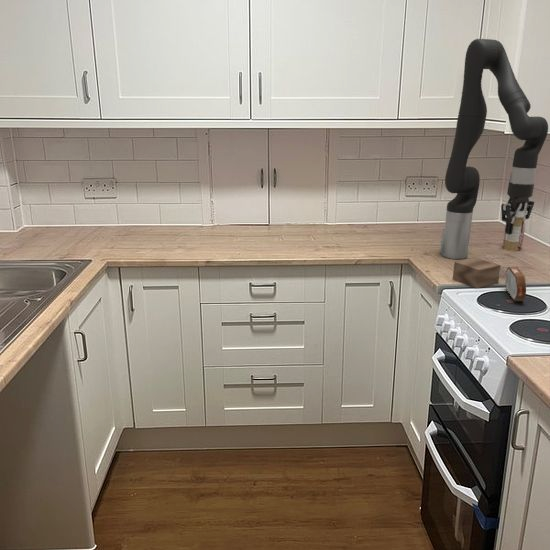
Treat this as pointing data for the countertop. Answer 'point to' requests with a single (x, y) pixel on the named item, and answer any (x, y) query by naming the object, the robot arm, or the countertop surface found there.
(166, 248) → the countertop surface
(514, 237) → the sprinkles bottle
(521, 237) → the soda can
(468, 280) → the walnut box
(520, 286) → the tin
